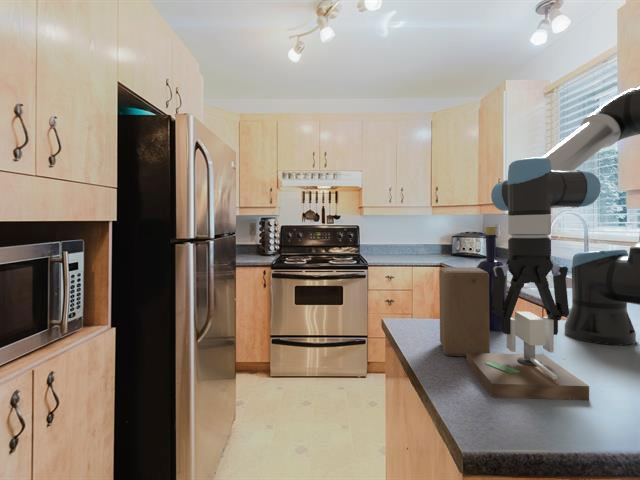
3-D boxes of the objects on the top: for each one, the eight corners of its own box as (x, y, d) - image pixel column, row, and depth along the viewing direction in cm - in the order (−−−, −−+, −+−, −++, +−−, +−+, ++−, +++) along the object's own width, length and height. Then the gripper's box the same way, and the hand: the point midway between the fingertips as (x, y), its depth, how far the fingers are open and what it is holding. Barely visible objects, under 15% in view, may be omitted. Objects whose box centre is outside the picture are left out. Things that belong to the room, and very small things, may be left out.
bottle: (515, 331, 104) (514, 226, 103) (482, 332, 104) (481, 227, 104) (499, 323, 114) (498, 226, 113) (469, 323, 114) (468, 227, 113)
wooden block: (490, 359, 83) (490, 271, 83) (444, 356, 85) (443, 271, 85) (480, 345, 93) (480, 266, 93) (439, 343, 95) (438, 266, 95)
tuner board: (543, 365, 79) (543, 352, 79) (589, 399, 63) (589, 384, 63) (466, 363, 81) (466, 351, 81) (492, 396, 65) (491, 381, 65)
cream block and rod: (529, 353, 78) (528, 311, 78) (563, 379, 64) (563, 329, 64) (515, 352, 78) (514, 311, 78) (546, 378, 65) (546, 328, 64)
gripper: (570, 235, 76) (570, 344, 77) (473, 237, 79) (474, 343, 79) (592, 236, 69) (592, 357, 70) (484, 238, 71) (485, 355, 72)
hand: (529, 349), depth 74 cm, fingers open, 6 cm apart
